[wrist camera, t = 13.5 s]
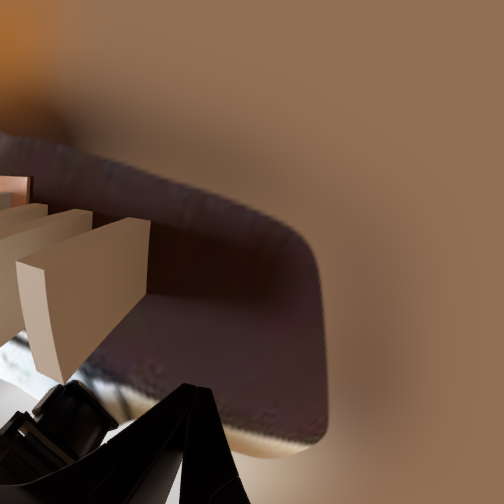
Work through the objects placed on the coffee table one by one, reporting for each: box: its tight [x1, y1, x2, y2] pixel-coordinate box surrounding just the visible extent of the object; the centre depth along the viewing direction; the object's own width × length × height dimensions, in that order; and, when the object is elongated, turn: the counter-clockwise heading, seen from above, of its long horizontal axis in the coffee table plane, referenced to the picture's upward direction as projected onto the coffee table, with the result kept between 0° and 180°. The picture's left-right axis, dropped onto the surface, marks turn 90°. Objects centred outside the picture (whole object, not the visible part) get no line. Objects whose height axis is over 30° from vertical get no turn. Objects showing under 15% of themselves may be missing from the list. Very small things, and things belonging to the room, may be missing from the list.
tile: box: [0, 175, 31, 208], centre depth 17 cm, size 9×6×1 cm, turn 171°
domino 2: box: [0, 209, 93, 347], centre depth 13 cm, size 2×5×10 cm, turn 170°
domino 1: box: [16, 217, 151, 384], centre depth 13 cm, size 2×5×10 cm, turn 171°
